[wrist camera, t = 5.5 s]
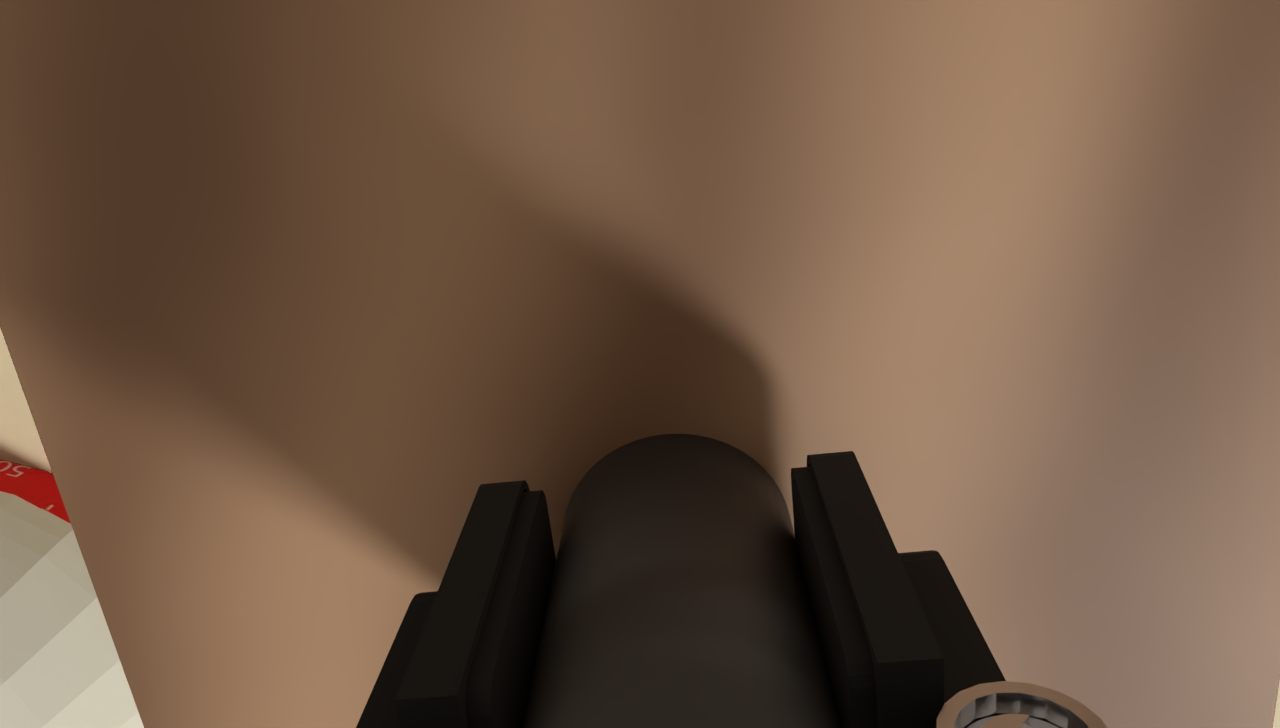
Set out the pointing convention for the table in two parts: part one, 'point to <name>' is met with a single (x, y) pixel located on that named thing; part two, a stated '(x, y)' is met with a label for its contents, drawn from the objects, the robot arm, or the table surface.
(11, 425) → the table surface
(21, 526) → the kitchen timer
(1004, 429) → the lid
